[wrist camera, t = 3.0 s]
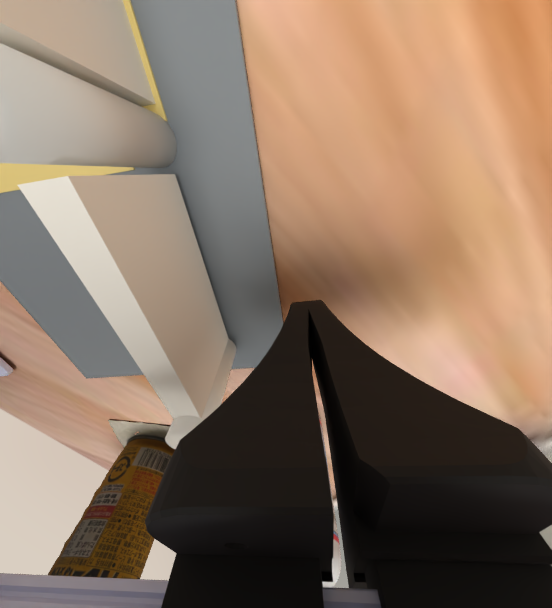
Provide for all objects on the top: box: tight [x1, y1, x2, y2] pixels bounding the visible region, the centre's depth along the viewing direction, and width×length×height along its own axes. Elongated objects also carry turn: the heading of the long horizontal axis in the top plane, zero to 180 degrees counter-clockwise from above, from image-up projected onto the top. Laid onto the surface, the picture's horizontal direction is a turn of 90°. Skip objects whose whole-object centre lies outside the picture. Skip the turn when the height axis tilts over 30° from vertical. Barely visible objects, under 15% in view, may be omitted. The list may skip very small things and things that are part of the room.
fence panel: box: [18, 174, 236, 449], centre depth 9 cm, size 10×2×6 cm, turn 8°
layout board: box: [0, 0, 283, 378], centre depth 9 cm, size 16×24×1 cm, turn 8°
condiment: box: [48, 420, 175, 579], centre depth 17 cm, size 7×8×12 cm
